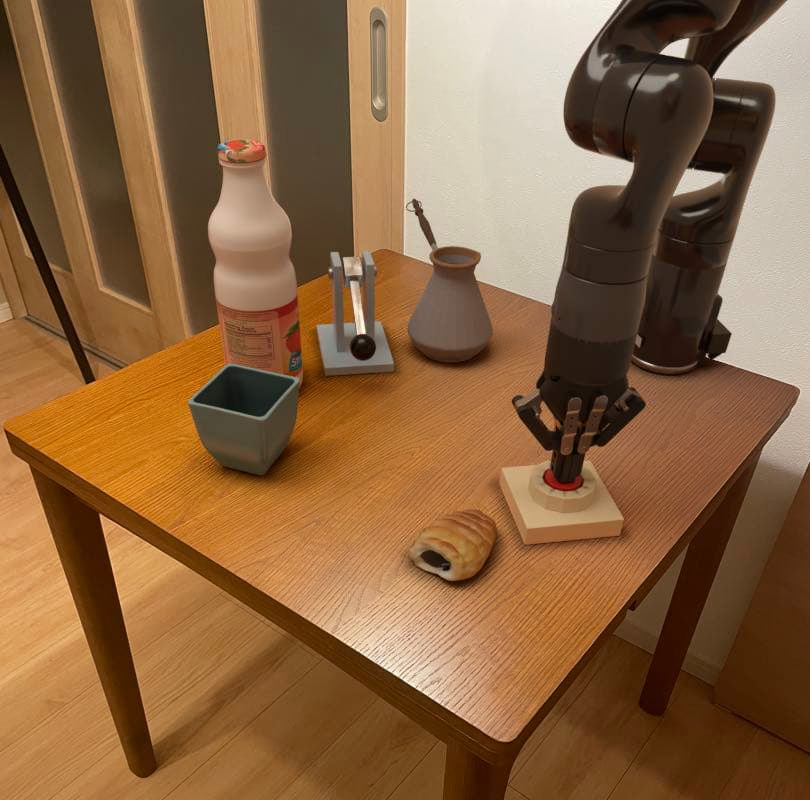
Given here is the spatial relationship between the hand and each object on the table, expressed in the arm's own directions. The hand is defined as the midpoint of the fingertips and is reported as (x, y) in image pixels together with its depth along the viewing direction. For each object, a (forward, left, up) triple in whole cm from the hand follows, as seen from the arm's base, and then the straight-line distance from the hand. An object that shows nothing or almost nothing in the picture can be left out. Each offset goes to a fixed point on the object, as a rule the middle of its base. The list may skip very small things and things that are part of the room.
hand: (564, 478), depth 81 cm
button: (0, 0, -2) cm, 2 cm away
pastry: (+12, +5, -4) cm, 14 cm away
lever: (+17, -32, +3) cm, 36 cm away
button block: (0, 0, -4) cm, 4 cm away
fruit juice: (+29, -29, -4) cm, 41 cm away
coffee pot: (+5, -40, -4) cm, 41 cm away
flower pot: (+31, -13, -4) cm, 34 cm away
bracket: (+17, -36, -4) cm, 40 cm away
